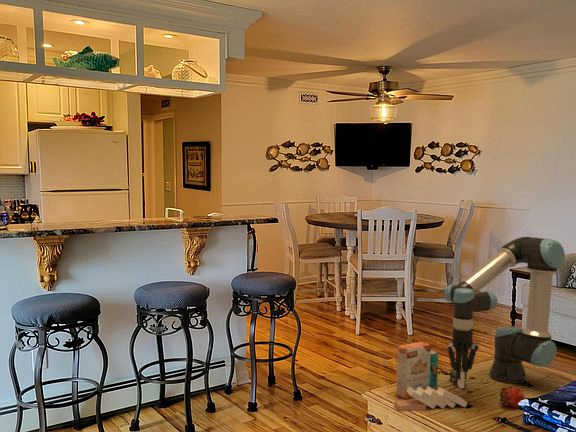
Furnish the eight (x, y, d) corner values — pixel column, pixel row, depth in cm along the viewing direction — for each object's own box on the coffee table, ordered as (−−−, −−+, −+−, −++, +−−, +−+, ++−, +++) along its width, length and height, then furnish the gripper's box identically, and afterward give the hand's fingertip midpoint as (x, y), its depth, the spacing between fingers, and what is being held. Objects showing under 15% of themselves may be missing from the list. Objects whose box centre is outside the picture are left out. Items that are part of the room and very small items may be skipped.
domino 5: (461, 398, 219) (439, 386, 218) (467, 403, 215) (444, 391, 213) (459, 402, 219) (436, 391, 218) (465, 407, 215) (442, 396, 213)
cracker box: (406, 400, 221) (407, 349, 220) (395, 395, 226) (396, 345, 225) (430, 393, 229) (431, 344, 227) (419, 388, 234) (420, 340, 232)
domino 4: (450, 398, 219) (427, 386, 217) (455, 403, 214) (433, 390, 212) (447, 403, 219) (425, 390, 217) (453, 408, 214) (430, 395, 212)
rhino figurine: (460, 392, 231) (461, 378, 230) (447, 380, 244) (447, 367, 244) (470, 391, 231) (470, 377, 231) (456, 379, 245) (456, 366, 244)
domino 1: (421, 399, 217) (394, 400, 215) (426, 404, 212) (398, 406, 210) (421, 404, 217) (394, 405, 215) (426, 409, 212) (398, 411, 210)
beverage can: (429, 389, 233) (430, 354, 232) (420, 384, 238) (421, 350, 237) (440, 387, 236) (441, 352, 235) (430, 382, 241) (431, 349, 240)
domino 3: (440, 399, 218) (418, 386, 216) (446, 404, 213) (423, 391, 211) (438, 403, 218) (415, 390, 216) (443, 408, 213) (420, 395, 211)
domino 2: (431, 399, 217) (408, 386, 216) (436, 404, 213) (413, 391, 211) (428, 404, 217) (406, 391, 216) (433, 409, 212) (410, 395, 211)
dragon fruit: (498, 411, 215) (519, 411, 220) (514, 405, 208) (535, 405, 214) (490, 390, 219) (512, 389, 224) (506, 383, 213) (527, 383, 218)
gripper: (473, 325, 220) (471, 382, 221) (442, 326, 218) (441, 384, 219) (483, 330, 212) (481, 389, 214) (451, 331, 210) (449, 391, 212)
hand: (460, 386), depth 216 cm, fingers closed
